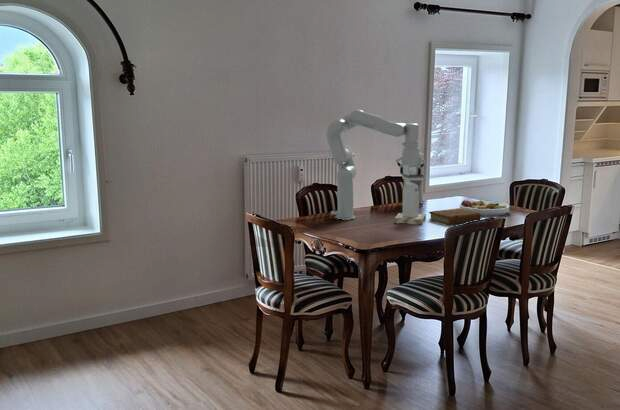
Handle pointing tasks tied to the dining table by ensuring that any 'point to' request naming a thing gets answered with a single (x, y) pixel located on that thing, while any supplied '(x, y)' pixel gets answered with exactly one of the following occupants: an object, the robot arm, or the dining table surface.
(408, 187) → the milk carton
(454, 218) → the diary
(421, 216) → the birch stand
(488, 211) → the bowl
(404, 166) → the display case
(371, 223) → the dining table surface
